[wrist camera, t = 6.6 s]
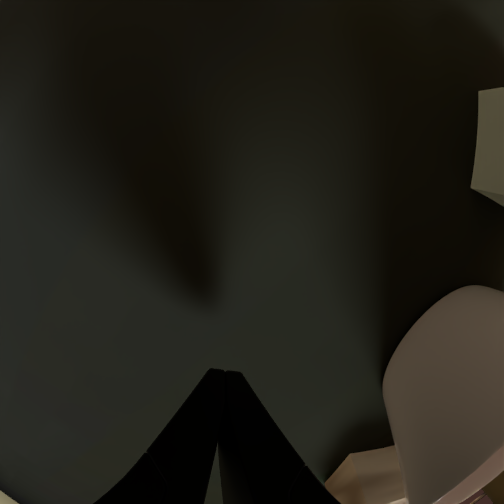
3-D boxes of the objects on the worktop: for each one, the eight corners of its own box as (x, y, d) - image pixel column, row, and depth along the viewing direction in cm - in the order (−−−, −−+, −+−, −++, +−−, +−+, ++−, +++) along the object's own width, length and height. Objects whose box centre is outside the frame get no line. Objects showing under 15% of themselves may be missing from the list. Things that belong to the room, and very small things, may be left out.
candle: (329, 432, 10) (363, 545, 4) (399, 244, 8) (560, 354, 2) (458, 404, 11) (505, 471, 5) (522, 264, 9) (606, 316, 3)
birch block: (375, 473, 13) (391, 515, 9) (324, 482, 13) (336, 530, 9) (404, 442, 12) (427, 488, 8) (349, 452, 11) (368, 509, 8)
